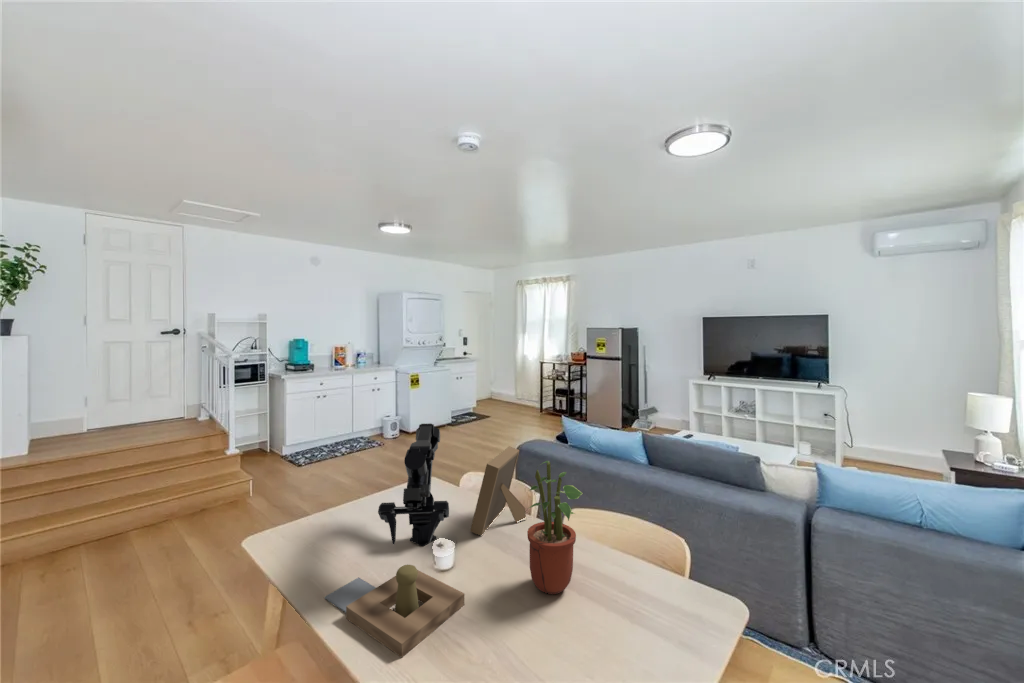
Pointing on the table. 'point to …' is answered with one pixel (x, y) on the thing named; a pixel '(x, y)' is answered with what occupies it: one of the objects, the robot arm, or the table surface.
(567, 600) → the table surface
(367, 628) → the walnut holder block
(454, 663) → the table surface
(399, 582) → the olive green pawn
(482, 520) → the photo frame
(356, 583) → the grey mat
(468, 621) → the table surface
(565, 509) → the potted plant
